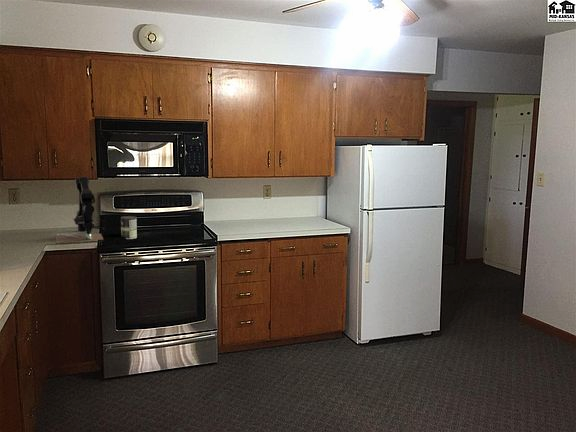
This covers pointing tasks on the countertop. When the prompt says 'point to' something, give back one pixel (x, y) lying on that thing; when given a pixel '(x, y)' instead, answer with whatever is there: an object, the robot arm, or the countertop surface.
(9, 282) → the countertop surface
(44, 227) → the countertop surface
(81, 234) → the base
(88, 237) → the tong arm
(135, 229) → the coffee can
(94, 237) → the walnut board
